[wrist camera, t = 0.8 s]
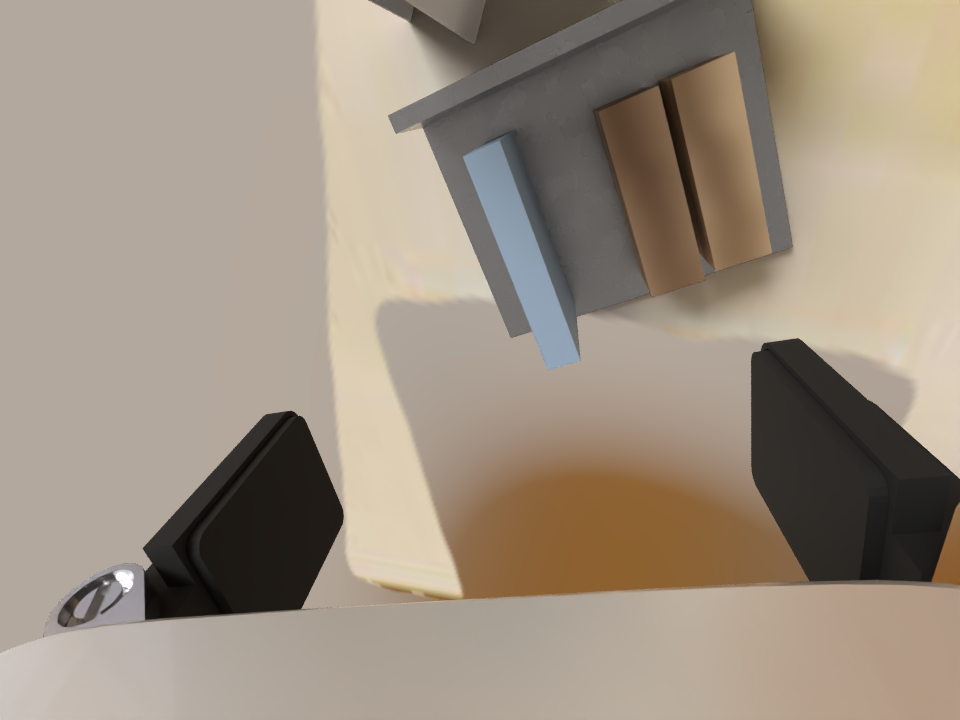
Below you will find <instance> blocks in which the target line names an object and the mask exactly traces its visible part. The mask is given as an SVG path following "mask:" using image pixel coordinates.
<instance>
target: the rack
mask: <svg viewBox="0 0 960 720" xmlns="http://www.w3.org/2000/svg"><path fill="white" fill-rule="evenodd" d="M731 52H735V55H736V60H737V65H738V71H739V76H740V82H741V87H742V93H743V98H744V103H745V109H746V114H747V120H748V125H749V130H750V136H751V141H752V147H753V152H754V158H755V163H756V168H757V174H758V179H759V185H760V190H761V195H762V201H763V206H764V212H765V217H766V223H767V228H768V233H769V239H770V244H771V250H772V253H775V252H778V251H781V250H785V249H788V248H791V247H793V245H792V239H791V233H790V227H789V221H788V215H787V209H786V203H785V197H784V191H783V185H782V179H781V173H780V167H779V161H778V155H777V149H776V143H775V137H774V131H773V125H772V119H771V113H770V107H769V102H768V96H767V90H766V84H765V78H764V72H763V66H762V60H761V54H760V48H759V42H758V36H757V30H756V24H755V18H754V12H753V6H752V0H622V1H620V2H618V3H616V4H614V5H612V6H610V7H608V8H606V9H604V10H602V11H600V12H598V13H596V14H594V15H592V16H590V17H588V18H586V19H583V20H581V21H579V22H577V23H575V24H573V25H571V26H569V27H567V28H565V29H563V30H561V31H559V32H557V33H555V34H553V35H551V36H549V37H547V38H545V39H543V40H541V41H539V42H537V43H535V44H533V45H531V46H529V47H527V48H525V49H522V50H520V51H518V52H516V53H514V54H512V55H510V56H508V57H506V58H504V59H502V60H500V61H498V62H496V63H494V64H492V65H490V66H488V67H486V68H484V69H482V70H480V71H478V72H476V73H474V74H472V75H470V76H468V77H466V78H464V79H461V80H459V81H457V82H455V83H453V84H451V85H449V86H447V87H445V88H443V89H441V90H439V91H437V92H435V93H433V94H431V95H429V96H427V97H425V98H423V99H421V100H419V101H417V102H415V103H413V104H411V105H409V106H407V107H405V108H402V109H400V110H398V111H396V112H394V113H392V114H390V115H388V117H389V119H390V122H391V124H392V126H393V128H394V131H395V133H396V134H397V133H401V132H406V131H410V130H415V129H420V128H423V129H424V132H425V134H426V137H427V139H428V141H429V144H430V146H431V148H432V151H433V153H434V156H435V158H436V160H437V163H438V165H439V168H440V170H441V172H442V175H443V177H444V179H445V182H446V184H447V187H448V189H449V191H450V194H451V196H452V199H453V201H454V203H455V206H456V208H457V210H458V213H459V215H460V218H461V220H462V222H463V225H464V227H465V230H466V232H467V234H468V237H469V239H470V242H471V244H472V246H473V249H474V251H475V253H476V256H477V258H478V261H479V263H480V265H481V268H482V270H483V273H484V275H485V277H486V280H487V282H488V284H489V287H490V289H491V292H492V294H493V296H494V299H495V301H496V304H497V306H498V308H499V311H500V313H501V315H502V318H503V320H504V323H505V325H506V327H507V329H508V332H509V335H510V337H511V338H513V337H516V336H519V335H522V334H525V333H528V332H531V331H532V329H531V327H530V324H529V322H528V319H527V317H526V314H525V312H524V309H523V307H522V304H521V302H520V299H519V297H518V294H517V292H516V289H515V287H514V284H513V282H512V279H511V277H510V274H509V272H508V269H507V267H506V264H505V262H504V259H503V257H502V254H501V252H500V249H499V247H498V244H497V242H496V239H495V236H494V234H493V231H492V229H491V226H490V224H489V221H488V219H487V216H486V214H485V211H484V209H483V206H482V204H481V201H480V199H479V196H478V194H477V191H476V189H475V186H474V184H473V181H472V179H471V176H470V174H469V171H468V169H467V166H466V164H465V161H464V159H463V156H465V155H466V154H468V153H470V152H471V151H473V150H474V149H476V148H478V147H479V146H481V145H482V144H484V143H486V142H488V141H491V140H493V139H495V138H497V137H500V136H502V135H504V134H506V133H509V132H511V131H513V132H514V135H515V138H516V141H517V143H518V146H519V149H520V152H521V155H522V158H523V160H524V163H525V166H526V169H527V172H528V174H529V177H530V180H531V183H532V186H533V189H534V191H535V194H536V197H537V200H538V203H539V205H540V208H541V211H542V214H543V217H544V220H545V222H546V225H547V228H548V231H549V234H550V236H551V239H552V242H553V245H554V248H555V250H556V253H557V256H558V259H559V262H560V265H561V267H562V270H563V273H564V276H565V279H566V281H567V284H568V287H569V290H570V293H571V296H572V298H573V301H574V304H575V307H576V317H578V316H581V315H584V314H587V313H590V312H593V311H596V310H599V309H602V308H605V307H609V306H612V305H615V304H618V303H621V302H624V301H627V300H630V299H633V298H636V297H639V296H642V295H646V294H649V293H650V292H649V290H648V288H647V286H646V284H645V282H644V280H643V278H642V275H641V273H640V270H639V266H638V263H637V260H636V256H635V253H634V249H633V246H632V242H631V239H630V236H629V232H628V229H627V225H626V222H625V219H624V215H623V212H622V208H621V205H620V202H619V198H618V195H617V191H616V188H615V185H614V181H613V178H612V174H611V171H610V167H609V164H608V161H607V157H606V154H605V150H604V147H603V144H602V140H601V137H600V133H599V130H598V127H597V123H596V120H595V116H594V113H593V110H594V109H596V108H598V107H601V106H603V105H605V104H608V103H610V102H612V101H614V100H617V99H619V98H621V97H624V96H626V95H628V94H630V93H633V92H635V91H637V90H640V89H642V88H644V87H651V86H659V84H658V81H660V80H662V79H665V78H667V77H669V76H672V75H674V74H676V73H678V72H681V71H683V70H685V69H688V68H690V67H692V66H694V65H697V64H699V63H701V62H704V61H706V60H708V59H710V58H713V57H716V56H720V55H723V54H727V53H731ZM659 90H660V88H659ZM660 94H661V92H660ZM661 98H662V96H661ZM662 102H663V100H662ZM663 106H664V105H663ZM664 110H665V109H664ZM665 114H666V113H665ZM666 118H667V117H666ZM667 123H668V121H667ZM668 127H669V125H668ZM669 131H670V129H669ZM670 135H671V133H670ZM671 139H672V138H671ZM672 143H673V142H672ZM673 147H674V146H673ZM674 151H675V150H674ZM675 156H676V154H675ZM676 160H677V158H676ZM677 164H678V162H677ZM678 168H679V167H678ZM679 172H680V171H679ZM680 176H681V175H680ZM681 180H682V179H681ZM682 184H683V183H682ZM683 189H684V187H683ZM684 193H685V191H684ZM685 197H686V195H685ZM686 201H687V200H686ZM687 205H688V204H687ZM688 209H689V208H688ZM689 213H690V212H689ZM690 217H691V216H690ZM691 222H692V220H691ZM692 226H693V224H692ZM693 230H694V228H693ZM694 234H695V233H694ZM695 238H696V237H695ZM696 242H697V241H696ZM697 246H698V245H697ZM698 251H699V249H698ZM772 253H771V254H772ZM699 255H700V253H699ZM768 255H769V254H768ZM765 256H766V255H765ZM762 257H763V256H762ZM759 258H760V257H759ZM700 259H701V263H702V267H703V271H704V275H707V274H710V273H713V272H717V271H715V270H714V269H713V268H712V267H711V266H710V265H709V264H708V262H707V261H706V260H705V259H704V258H703V257H702V256H701V255H700ZM756 259H757V258H756ZM753 260H754V259H753ZM750 261H751V260H750ZM737 265H738V264H737ZM734 266H735V265H734ZM731 267H732V266H731ZM728 268H729V267H728ZM725 269H726V268H725ZM722 270H723V269H722ZM719 271H720V270H719Z"/></svg>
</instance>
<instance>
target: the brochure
mask: <svg viewBox="0 0 960 720" xmlns="http://www.w3.org/2000/svg"><path fill="white" fill-rule="evenodd" d="M369 1H371V2H373V3H374V4H376V5H378V6H380V7H382V8H384V9H386V10H388V11H390V12H392V13H394V14H395V15H397V16H399V17H401V18H403V19H405V20H407V21H409V22H411V19H412V14H413V9H414V7H416V8H417V9H419V10H420V11H422V12H423V13H425V14H426V15H428V16H429V17H431V18H433V19H434V20H436V21H437V22H439V23H440V24H442V25H443V26H445V27H446V28H448V29H449V30H451V31H453V32H454V33H456V34H457V35H459V36H460V37H462V38H463V39H465V40H466V41H468V42H469V43H471V44H475V43H476V39H477V35H478V31H479V27H480V23H481V19H482V15H483V11H484V6H485V2H486V0H369Z"/></svg>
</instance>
